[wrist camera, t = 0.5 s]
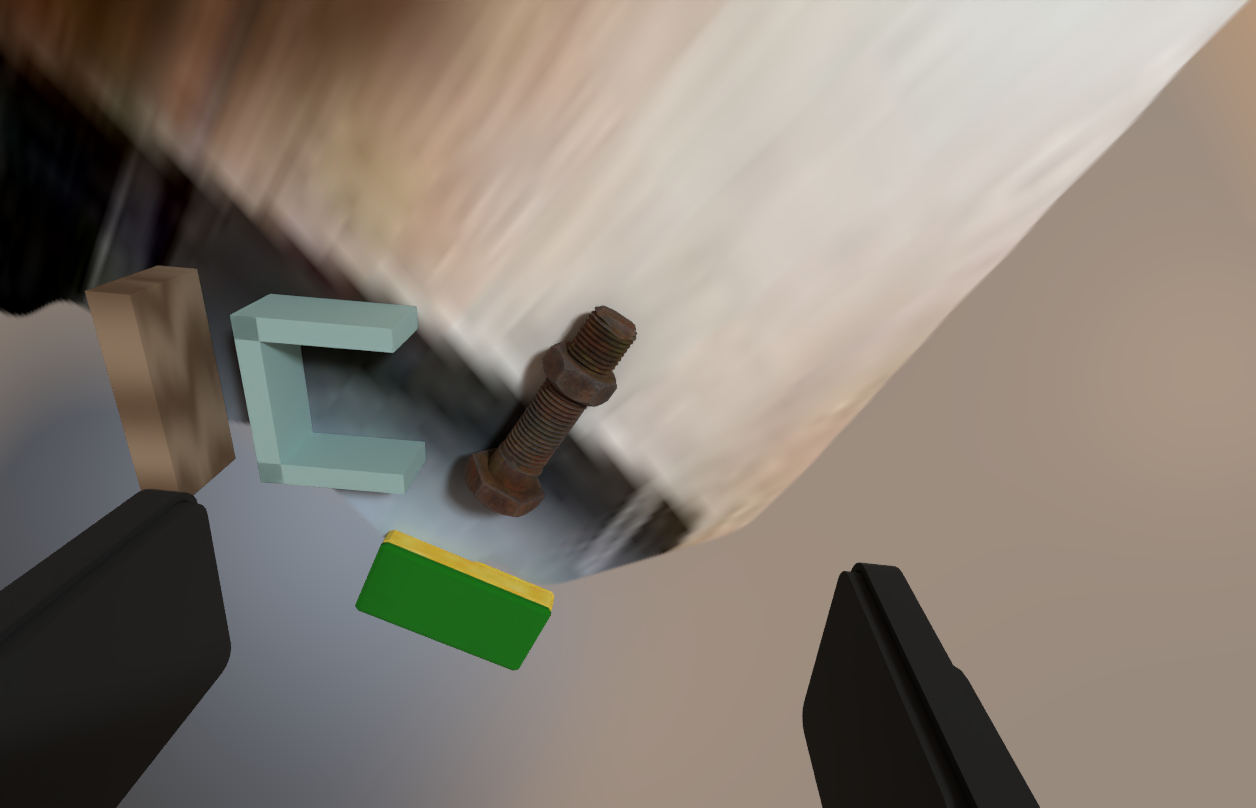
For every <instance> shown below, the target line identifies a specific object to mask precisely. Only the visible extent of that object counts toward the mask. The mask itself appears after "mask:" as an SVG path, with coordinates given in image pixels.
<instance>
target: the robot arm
mask: <svg viewBox="0 0 1256 808" xmlns="http://www.w3.org/2000/svg"><path fill="white" fill-rule="evenodd" d="M230 652H231V642H230V636H229V631H228V626H227V620H226V614H225V609H224V604H223V598H222V593H221V586H220V581H219V576H218V570H217V564H216V559H215V553H214V547H213V542H212V536H211V531H210V525H209V520H208V515H207V511H206V509H205V507H204V506H203V505H201V504H198V503H197V500H196V498H195V497H194V496H193V495H192V494H190V493H187V492H178V491H168V490H158V489H144V490H142V491H140V492H138V493H137V494H135V495H134V496H132V497H131V498H130V499H128V500H127V501H125V502H124V503H123V504H121V505H120V506H119V507H117V508H116V509H114V510H113V511H112V512H110V513H109V514H107V515H106V516H104V517H103V518H102V519H100V520H99V521H98V522H96V523H95V524H93V525H92V526H90V527H89V528H88V529H87V530H85V531H84V532H82V533H81V534H79V535H78V536H77V537H75V538H74V539H72V540H71V541H70V542H68V543H67V544H66V545H64V546H63V547H61V548H60V549H58V550H57V551H56V552H54V553H53V554H51V555H50V556H49V557H47V558H46V559H45V560H43V561H42V562H40V563H39V564H37V565H36V566H35V567H33V568H32V569H30V570H29V571H28V572H26V573H25V574H24V575H22V576H21V577H19V578H18V579H17V580H15V581H14V582H12V583H11V584H10V585H8V586H7V587H5V588H4V589H3V590H1V591H0V808H116V807H117V806H118V804H119V803H120V802H121V800H122V799H123V798H124V797H125V796H126V794H127V793H128V792H129V791H130V789H131V788H132V787H133V785H134V784H135V783H136V782H137V780H138V779H139V778H140V776H141V775H142V774H143V773H144V771H145V770H146V769H147V767H148V766H149V765H150V764H151V763H152V761H153V760H154V759H155V757H156V756H157V755H158V754H159V752H160V751H161V750H162V749H163V747H164V746H165V745H166V743H167V742H168V741H169V740H170V738H171V737H172V736H173V734H174V733H175V732H176V731H177V729H178V728H179V727H180V725H181V724H182V723H183V721H185V719H186V718H187V717H188V715H189V714H190V713H191V712H192V710H193V709H194V708H195V706H196V705H197V704H198V703H199V701H200V700H201V699H202V697H203V696H204V695H205V693H207V691H208V690H209V689H210V687H211V686H212V685H213V684H214V682H215V681H216V680H217V679H218V677H219V676H220V674H221V673H222V672H223V670H224V669H225V667H226V665H227V663H228V660H229V657H230ZM803 729H804V734H805V738H806V742H807V746H808V751H809V755H810V759H811V763H812V767H813V770H814V775H815V779H816V783H817V787H818V791H819V795H820V799H821V803H822V807H823V808H1040V807H1039V805H1038V803H1037V801H1036V799H1035V798H1034V796H1033V794H1032V793H1031V791H1030V789H1029V787H1028V785H1027V784H1026V782H1025V780H1024V778H1023V776H1022V775H1021V773H1020V771H1019V769H1018V768H1017V766H1016V764H1015V762H1014V761H1013V759H1012V757H1011V755H1010V753H1009V752H1008V750H1007V748H1006V746H1005V744H1004V743H1003V741H1002V739H1001V738H1000V736H999V734H998V732H997V730H996V728H995V727H994V725H993V723H992V721H991V720H990V718H989V716H988V714H987V713H986V711H985V709H984V707H983V706H982V704H981V702H980V700H979V698H978V697H977V695H976V693H975V691H974V689H973V688H972V686H971V684H970V682H969V681H968V679H967V678H966V677H965V675H964V674H963V672H962V671H961V670H960V669H958V668H956V667H955V666H953V664H952V662H951V660H950V659H949V657H948V655H947V653H946V652H945V650H944V648H943V646H942V644H941V642H940V640H939V639H938V637H937V635H936V633H935V631H934V630H933V628H932V626H931V624H930V622H929V621H928V619H927V617H926V615H925V613H924V611H923V610H922V608H921V606H920V604H919V602H918V601H917V599H916V597H915V595H914V593H913V591H912V590H911V588H910V586H909V584H908V582H907V581H906V579H905V577H904V575H903V573H902V572H901V571H900V569H899V568H897V567H895V566H886V565H878V564H868V563H856V564H855V565H854V567H853V568H852V570H851V572H847V571H843V572H842V573H841V574H840V576H839V578H838V582H837V585H836V589H835V592H834V596H833V600H832V603H831V607H830V610H829V614H828V618H827V621H826V625H825V628H824V632H823V636H822V639H821V643H820V647H819V650H818V654H817V658H816V661H815V665H814V668H813V672H812V676H811V679H810V683H809V686H808V690H807V694H806V697H805V701H804V706H803Z"/></svg>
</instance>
